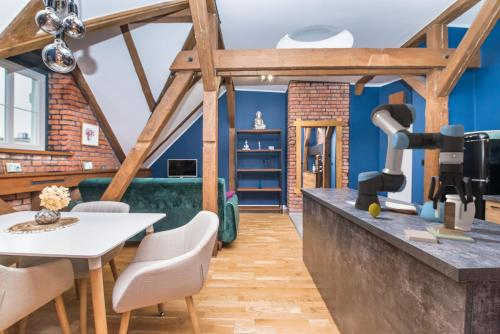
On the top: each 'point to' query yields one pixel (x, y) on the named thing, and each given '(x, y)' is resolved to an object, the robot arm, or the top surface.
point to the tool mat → (450, 236)
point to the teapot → (430, 212)
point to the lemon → (374, 210)
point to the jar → (468, 215)
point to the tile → (420, 236)
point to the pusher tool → (449, 221)
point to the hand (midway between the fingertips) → (449, 218)
